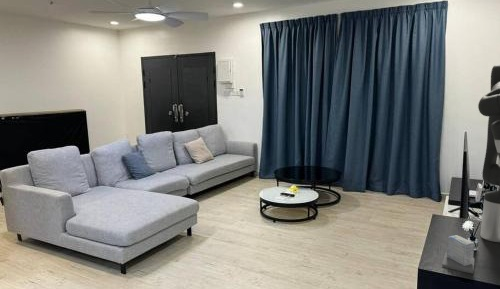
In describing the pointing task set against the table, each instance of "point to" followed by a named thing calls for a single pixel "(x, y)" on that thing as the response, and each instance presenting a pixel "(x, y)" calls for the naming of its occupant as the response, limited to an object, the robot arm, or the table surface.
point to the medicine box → (460, 250)
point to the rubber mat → (457, 265)
